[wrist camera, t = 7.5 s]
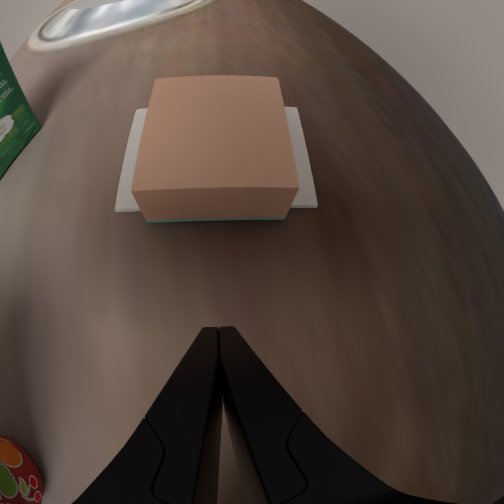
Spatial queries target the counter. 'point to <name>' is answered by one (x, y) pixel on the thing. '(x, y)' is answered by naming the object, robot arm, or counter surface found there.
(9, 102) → the coffee box
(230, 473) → the counter surface
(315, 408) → the counter surface
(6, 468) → the smoothie
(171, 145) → the tan and teal block
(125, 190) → the mat
